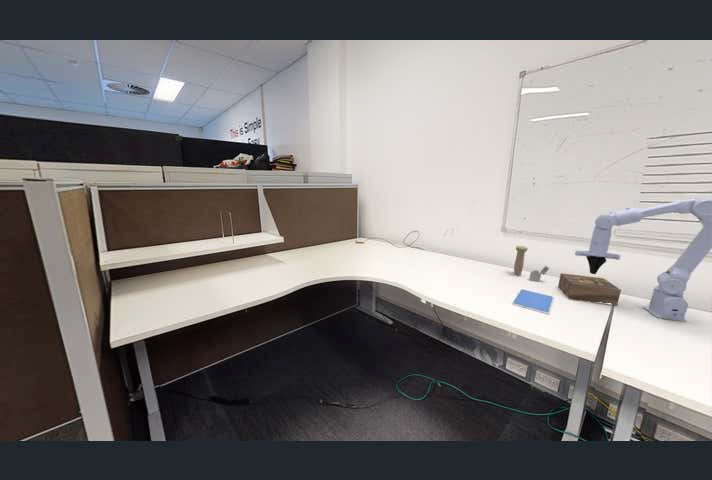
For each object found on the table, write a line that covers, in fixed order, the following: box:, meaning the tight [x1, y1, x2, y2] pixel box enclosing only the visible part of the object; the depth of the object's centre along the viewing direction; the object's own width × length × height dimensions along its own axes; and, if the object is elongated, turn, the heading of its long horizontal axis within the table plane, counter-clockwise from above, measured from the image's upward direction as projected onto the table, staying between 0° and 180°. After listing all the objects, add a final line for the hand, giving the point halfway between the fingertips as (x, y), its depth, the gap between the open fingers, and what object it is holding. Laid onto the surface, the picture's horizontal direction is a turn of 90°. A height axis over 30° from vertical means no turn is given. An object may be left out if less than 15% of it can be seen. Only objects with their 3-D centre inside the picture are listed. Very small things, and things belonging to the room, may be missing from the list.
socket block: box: [557, 272, 622, 307], centre depth 115 cm, size 14×16×7 cm
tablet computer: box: [511, 289, 555, 315], centre depth 109 cm, size 19×13×1 cm, turn 139°
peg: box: [582, 279, 595, 283], centre depth 115 cm, size 4×4×6 cm
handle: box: [513, 245, 528, 276], centre depth 138 cm, size 5×6×15 cm
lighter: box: [529, 265, 550, 282], centre depth 131 cm, size 7×2×8 cm, turn 74°
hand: (592, 273), depth 114 cm, fingers closed
